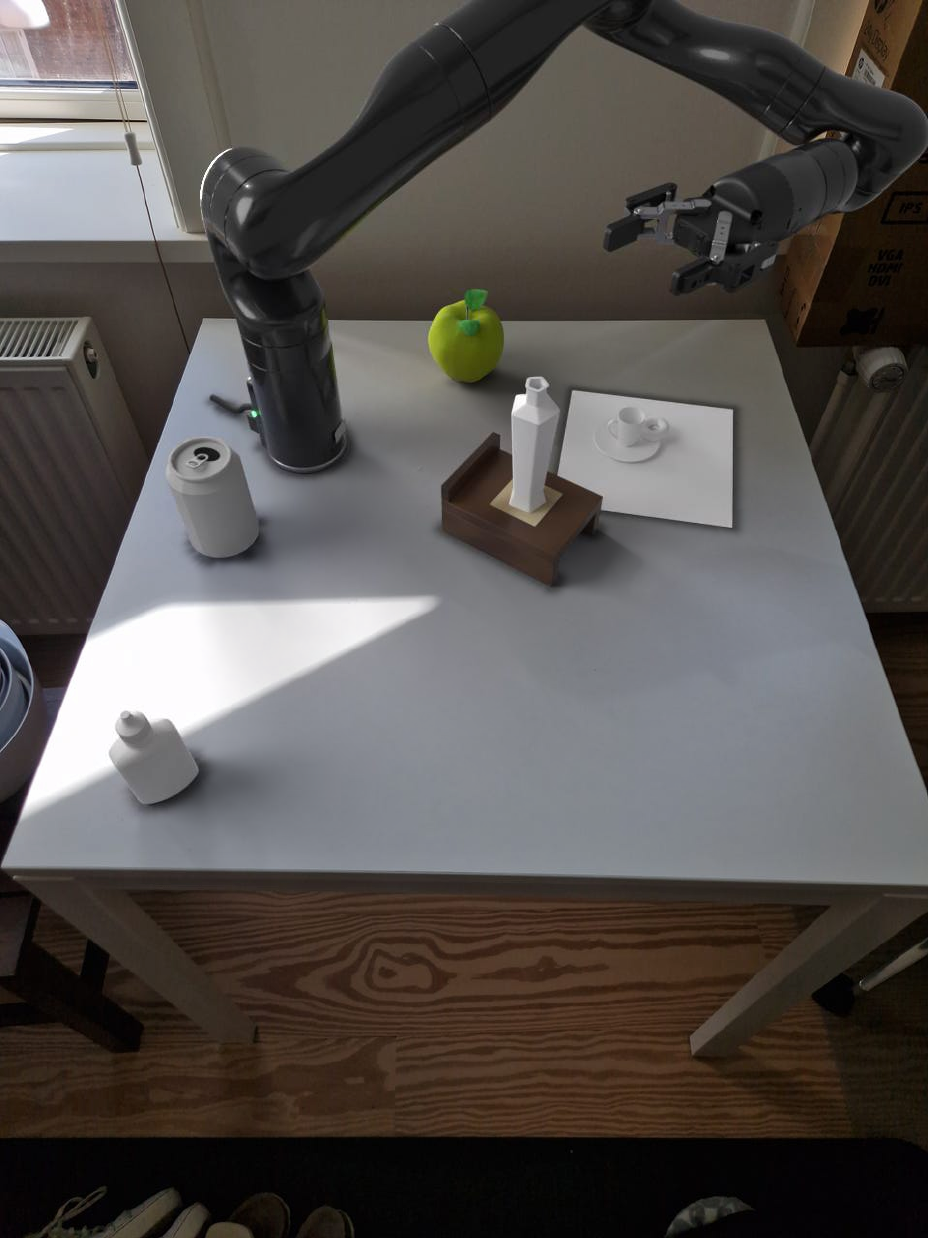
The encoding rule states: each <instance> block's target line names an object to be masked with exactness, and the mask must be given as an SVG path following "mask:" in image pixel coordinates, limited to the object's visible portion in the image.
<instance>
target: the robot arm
mask: <svg viewBox="0 0 928 1238" xmlns="http://www.w3.org/2000/svg"><path fill="white" fill-rule="evenodd" d="M580 27H582V28H584V29H585V30H587V31H589V32H590V33H592V34H594V35H596V36H597V37H599V38H601V39H602V40H604V41H606V42H609V43H611V44H613V45H614V46H617V47H620V48H621V49H624V50H626V51H629V52H631V53H633V54H636V55H637V56H639V57H642V58H644V59H645V60H648V61H650V62H652V63H653V64H656V65H658V66H660V67H661V68H664V69H666V70H668V71H670V72H673V73H675V74H677V75H679V76H681V77H683V78H685V79H687V80H689V81H691V82H693V83H695V84H697V85H699V86H701V87H703V88H705V89H706V90H708V91H710V92H712V93H713V94H715V95H717V96H718V97H720V98H722V99H724V100H725V101H727V102H728V103H730V104H731V105H732V106H733V107H735V108H737V109H738V110H740V111H741V112H743V113H744V114H745V115H747V116H748V117H749V118H751V119H752V120H753V121H755V122H756V123H758V124H759V125H761V126H762V127H764V128H765V129H766V130H768V131H769V132H770V133H772V134H773V135H774V136H776V137H777V138H779V139H780V140H782V141H783V142H784V143H786V144H788V145H790V146H792V147H795V148H793V149H790V150H788V151H785V152H781V153H777V154H773V155H769V156H767V157H765V158H763V159H760V160H758V161H756V162H752V163H751V164H749V165H746V166H744V167H741V168H739V169H737V170H735V171H732V172H730V173H728V174H725V175H724V176H721V177H719V178H717V179H716V180H715V181H714V182H713V183H712V184H711V185H710V186H709V187H708V188H707V190H705V191H704V193H702V194H701V195H700V196H694V197H687V198H683V197H681V196H679V194H677V189H678V184H676V183H675V182H666V183H663V184H660V185H657V186H655V187H653V188H649V189H647V190H645V191H642V192H638V193H636V194H633V195H630V196H627V197H626V198H625V201H624V202H625V203H624V207H623V215H622V218H620V219H618V220H616V221H614V222H611V223H609V224H608V225H607V226H606V227H605V231H604V236H603V243H602V248H603V250H605V251H607V252H608V253H612V252H615V251H617V250H619V249H621V248H623V247H626V246H628V245H630V244H633V243H634V242H636V241H638V240H654V241H655V243H656V244H657V245H677V246H678V247H681V248H684V249H685V250H688V251H689V252H690V253H691V254H692V255H693V256H695V257H696V258H698V259H695V260H693V261H691V262H689V263H687V264H684V265H683V266H681V267H679V268H676V269H675V270H674V271H673V273H672V276H671V279H670V285H669V287H668V292H669V293H670V294H671V295H673V296H675V297H679V296H681V295H686V294H690V293H693V292H695V291H697V290H698V289H701V288H703V287H704V286H709V287H715V286H716V285H717V284H719V285H721V286H723V288H722V289H723V291H724V292H726V293H730V294H734V293H736V292H738V291H740V290H742V289H744V288H745V287H746V286H748V285H750V284H752V283H753V282H755V281H757V280H758V279H760V278H762V277H765V276H766V275H767V274H769V273H771V272H772V269H773V265H774V263H775V259H776V257H777V255H778V250H779V247H780V242H782V241H784V240H786V239H789V238H790V237H792V236H794V235H796V234H798V233H799V232H800V231H802V230H803V229H804V228H806V227H807V226H809V225H811V224H813V223H815V222H817V221H819V220H821V219H823V218H825V217H828V216H829V215H838V214H845V213H851V212H854V211H856V210H859V209H861V208H863V207H865V206H866V205H868V204H869V203H871V202H872V201H874V200H875V199H876V198H877V197H879V196H880V195H881V194H882V193H883V192H884V191H885V190H886V189H887V188H889V186H890V185H892V183H894V182H895V181H896V180H897V179H898V178H899V177H901V175H902V174H904V172H905V171H907V170H908V169H909V168H910V167H911V166H912V165H913V164H915V163H916V161H918V159H920V157H921V156H923V154H924V153H925V151H926V149H927V148H928V117H927V115H926V113H925V112H924V110H923V109H922V108H921V107H920V105H918V104H917V103H916V102H915V101H914V100H913V99H911V98H909V97H908V96H906V95H904V94H902V93H900V92H897V91H894V90H891V89H887V88H884V87H881V86H878V85H875V84H871V83H869V82H865V81H863V80H859V79H856V78H854V77H851V76H849V75H848V76H847V75H844V74H841V73H839V72H836V71H835V70H833V69H832V68H831V67H829V66H828V65H827V64H825V63H824V62H822V61H821V60H820V59H819V58H817V57H816V56H814V55H813V54H812V53H811V52H810V51H808V50H806V49H805V48H803V47H802V46H801V45H799V44H798V43H797V42H795V41H793V40H792V39H791V38H789V37H787V36H785V35H783V34H781V33H779V32H776V31H774V30H772V29H769V28H765V27H762V26H757V25H753V24H748V23H742V22H736V21H731V20H725V19H722V18H721V19H720V18H716V17H714V16H713V17H712V16H710V15H707V14H704V13H701V12H699V11H696V10H694V9H692V8H690V7H688V6H686V5H685V4H683V3H682V2H680V1H679V0H468V1H466V2H465V3H464V4H462V5H461V6H460V7H458V8H457V9H456V10H454V11H452V12H451V13H449V14H447V15H446V16H445V17H443V18H441V19H440V20H439V21H437V22H435V24H433V25H431V26H430V27H429V28H428V29H426V30H425V31H423V32H421V34H419V35H418V36H417V37H415V38H414V39H413V40H411V41H410V42H409V43H407V44H406V45H405V46H403V47H402V48H401V49H399V51H398V52H396V53H395V54H394V55H393V56H392V57H391V58H390V59H389V60H388V61H387V63H386V64H384V67H383V68H382V70H381V72H380V73H379V74H378V76H377V77H376V80H375V81H374V83H373V85H372V86H371V89H370V91H369V93H368V94H367V97H366V99H365V101H364V103H363V105H362V107H361V109H360V111H359V113H358V114H357V116H356V118H355V119H354V121H353V123H352V124H351V125H350V127H349V128H348V129H347V130H346V131H345V132H344V133H343V135H341V136H340V137H339V138H338V139H337V140H336V141H335V142H333V143H332V144H331V145H330V146H328V147H327V148H326V149H324V150H322V151H321V152H320V153H318V154H317V155H315V156H314V157H313V158H311V159H310V160H309V161H307V162H305V163H304V164H302V165H300V166H298V167H297V168H295V169H293V170H291V169H290V168H289V167H288V166H287V165H285V163H283V162H282V161H281V160H280V159H279V158H278V157H276V156H274V155H273V154H272V153H270V152H269V151H266V150H265V149H262V148H260V147H256V146H252V145H241V146H234V147H232V148H228V149H226V150H225V151H223V152H221V153H220V154H219V155H218V156H216V157H215V159H214V160H213V161H212V162H211V163H210V165H209V167H208V168H207V170H206V172H205V174H204V177H203V179H202V184H201V189H200V212H201V218H202V223H203V227H204V231H205V235H206V238H207V243H208V246H209V248H210V253H211V256H212V260H213V264H214V266H215V269H216V273H217V276H218V280H219V284H220V286H221V289H222V292H223V295H224V297H225V299H226V301H227V303H228V305H229V307H230V309H231V311H232V313H233V315H234V317H235V322H236V326H237V328H238V333H239V337H240V341H241V345H242V350H243V354H244V356H245V361H246V365H247V369H248V373H249V377H248V378H247V380H246V387H247V391H248V396H249V400H250V403H248V402H247V403H246V402H245V403H242V404H240V405H238V406H237V405H234V404H232V403H230V402H228V401H226V400H224V399H223V398H221V397H220V396H218V395H216V394H213V393H211V394H210V396H209V401H211V402H213V403H215V404H216V405H218V406H220V407H221V408H223V409H225V410H227V411H229V412H232V413H235V414H242V413H244V412H245V411H250V412H248V413H247V414H246V418H247V422H248V425H249V430H250V431H251V432H254V433H256V434H258V435H259V438H260V442H261V446H262V447H264V448H265V449H266V450H267V453H268V456H269V458H270V460H271V461H272V462H273V463H274V464H275V465H276V466H277V467H279V468H280V469H282V470H285V471H288V472H290V473H295V474H296V473H297V474H309V473H316V472H319V471H323V470H325V469H328V468H330V467H332V466H333V465H334V464H336V463H337V462H338V461H339V460H341V458H342V457H343V456H344V454H345V453H346V450H347V447H348V439H347V434H346V429H347V423H346V422H347V421H346V418H345V417H343V411H342V403H341V395H340V391H339V383H338V377H337V369H336V362H335V357H334V349H333V344H332V337H331V329H330V323H329V317H328V316H329V315H328V310H327V304H326V303H327V302H326V298H325V295H324V291H323V289H322V287H321V285H320V283H319V281H318V280H317V278H316V275H315V274H314V273H313V271H312V269H311V268H312V267H313V266H314V265H316V264H317V263H318V262H319V261H320V260H322V259H323V258H324V257H325V256H326V255H327V254H328V253H330V252H331V251H332V250H333V249H334V248H335V247H336V246H337V245H338V244H339V243H340V242H341V241H342V240H344V238H346V237H347V236H348V235H349V233H351V232H352V231H353V230H354V229H355V228H356V227H357V226H358V225H359V224H360V223H362V221H364V220H365V219H366V218H367V217H368V216H369V215H370V214H371V213H372V212H373V211H374V210H375V209H377V208H378V207H379V206H380V205H381V204H383V202H385V201H386V200H387V199H389V198H390V197H391V196H392V195H393V194H395V193H396V192H398V190H400V189H401V188H403V187H405V185H406V184H408V183H409V182H410V181H411V180H413V179H414V178H416V177H417V176H418V175H419V174H420V173H422V172H423V171H424V170H425V169H426V168H428V167H429V166H431V165H432V164H433V163H435V162H436V161H437V160H438V159H440V158H441V157H443V156H444V155H445V154H447V153H448V152H450V151H452V150H453V149H455V148H456V147H457V146H459V145H461V143H463V142H464V141H466V140H467V139H469V138H470V137H472V136H473V135H475V133H476V132H477V131H479V130H481V129H482V128H484V127H485V126H486V125H487V124H489V123H490V122H491V121H492V120H493V119H495V118H496V116H498V115H499V114H500V113H501V112H502V111H504V109H505V108H506V107H507V106H508V105H510V103H511V102H512V101H513V100H514V99H515V98H516V97H517V96H518V95H519V94H520V93H521V92H522V90H523V89H524V88H525V87H526V86H527V85H528V84H529V82H530V81H531V80H532V79H533V77H534V76H535V75H537V73H538V72H539V71H540V69H541V68H542V67H543V65H544V64H545V63H546V62H547V61H548V59H549V58H551V56H552V55H553V54H554V52H555V51H556V50H557V49H558V48H559V46H561V45H562V44H563V42H564V41H565V40H566V39H567V38H568V37H569V36H570V35H572V34H573V33H574V32H575V31H576V30H577V29H579V28H580ZM830 131H832V132H839V133H843V135H842V136H841V137H840V138H837V137H831V136H830V137H820V138H818V137H819V136H820V135H822V134H824V133H827V132H830ZM816 138H818V139H816ZM672 215H675V219H674V223H673V228H672V231H667V226H668V221H669V218H670V217H671V216H672ZM654 220H656V223H655V225H654V226H653V227H650V226H648V227H645V225H646V223H648V222H651V221H654ZM724 259H727V260H730V262H729V261H725V260H724Z"/></svg>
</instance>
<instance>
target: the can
mask: <svg viewBox="0 0 928 1238" xmlns="http://www.w3.org/2000/svg"><path fill="white" fill-rule="evenodd" d="M164 474H165V478H166V483H167V485H168V487H169V490H170V493H171V494H172V497H173V500H174V503H175V505H176V507H177V510H178V513H179V515H180V518H181V520H182V523H183V526H184V528H185V531H186V533H187V536H188V538H189V541H190V544H191V546H192V547H193V548H194V549H195V550H196V551H197V552H198V553H200V554H201V555H203V556H205V557H210V558H214V559H215V558H217V559H219V558H229V557H233V556H236V555H239V554H241V553H243V552H245V551H246V550H248V549H249V548H250V547H251V546H252V545H253V544H254V543H255V542H256V540H257V538H258V537H259V535H260V526H261V525H260V522H259V519H258V516H257V512H256V509H255V505H254V502H253V498H252V495H251V491H250V488H249V484H248V481H247V478H246V473H245V470H244V467H243V463H242V460H241V457H240V454H238V453H237V451H236V450H235V449H234V448H232V447H231V446H230V445H229V444H228V442H226V441H225V440H223V439H221V438H219V437H215V436H210V435H205V436H203V435H202V436H195V437H191V438H189V439H185V440H184V441H182V442H180V443H179V444H178V445H176V446H175V447H174V448H173V449H172V450H171V452H170V453H169V455H168V459H167V465H166V469H165V473H164Z"/></svg>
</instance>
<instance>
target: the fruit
mask: <svg viewBox="0 0 928 1238" xmlns="http://www.w3.org/2000/svg"><path fill="white" fill-rule="evenodd" d="M488 295H489V292H488V291H487V290H484V289H481V288H470V289H468V290H467V291H466V292H465V295H464V299H463V300H460V301H457V302H455V303H453V304H449V305H448V304H447V305H446V306H444V307H442V308H441V309H440V310H439V311H438V313H437V314H436V315H435V316H434V319H433V322H432V324H431V326H430V328H429V331H428V337H427V338H428V339H427V341H428V348H429V351H430V354H431V356H432V358H433V360H434V362H436V364H437V366H438V367H439V368H440V369H441V370H442V372H443V373H444V374H445V375H446V376H447V377H449V378H450V379H452V380H453V381H456V382H457V381H458V382H464V383H475V382H479V381H480V380H481V379H483V378H484V377H485V376H487V375H489V373H491V372H492V371H493V370H495V368H496V367H497V366H498V364H499V362H500V360H501V358H502V354H503V351H504V345H505V331H504V327H503V323H502V321H501V319H500V318H499V316H498V314H497V313H496V312H495V311H494V310H493V309H492V308H491V307H488V306H485V305H484V303H486V300H487V297H488Z"/></svg>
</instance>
